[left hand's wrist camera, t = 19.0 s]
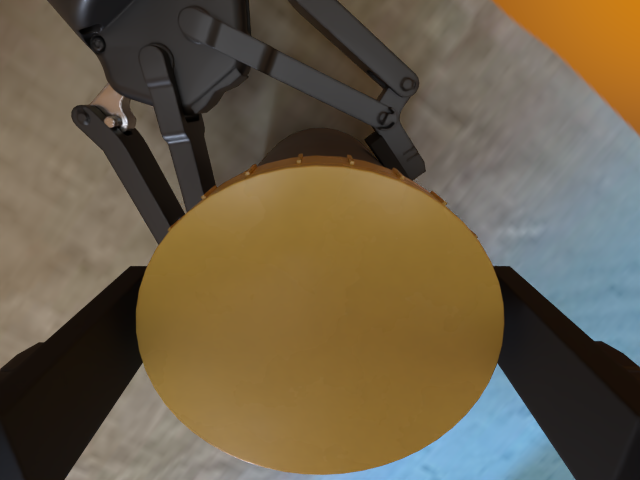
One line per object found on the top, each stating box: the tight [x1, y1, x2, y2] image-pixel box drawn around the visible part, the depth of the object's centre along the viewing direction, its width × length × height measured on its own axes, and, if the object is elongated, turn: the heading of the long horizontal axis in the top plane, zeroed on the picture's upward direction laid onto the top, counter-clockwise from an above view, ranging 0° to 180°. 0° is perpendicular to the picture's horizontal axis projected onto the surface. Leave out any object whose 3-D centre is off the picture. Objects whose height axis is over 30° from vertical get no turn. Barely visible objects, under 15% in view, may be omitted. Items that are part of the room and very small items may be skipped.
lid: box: [136, 154, 504, 475], centre depth 11 cm, size 11×11×2 cm
